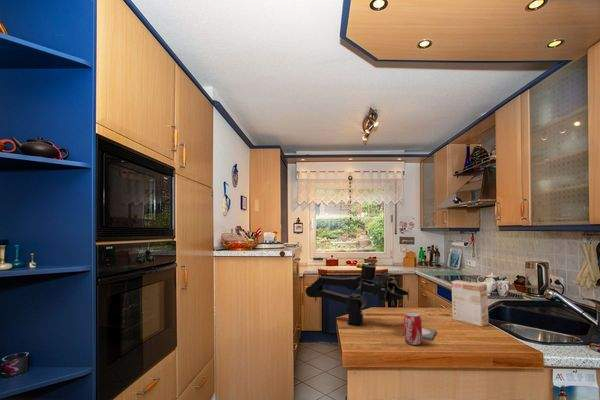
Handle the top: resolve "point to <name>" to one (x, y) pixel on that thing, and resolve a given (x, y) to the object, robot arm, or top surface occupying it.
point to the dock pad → (427, 333)
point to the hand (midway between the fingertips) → (405, 295)
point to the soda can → (413, 328)
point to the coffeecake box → (470, 302)
